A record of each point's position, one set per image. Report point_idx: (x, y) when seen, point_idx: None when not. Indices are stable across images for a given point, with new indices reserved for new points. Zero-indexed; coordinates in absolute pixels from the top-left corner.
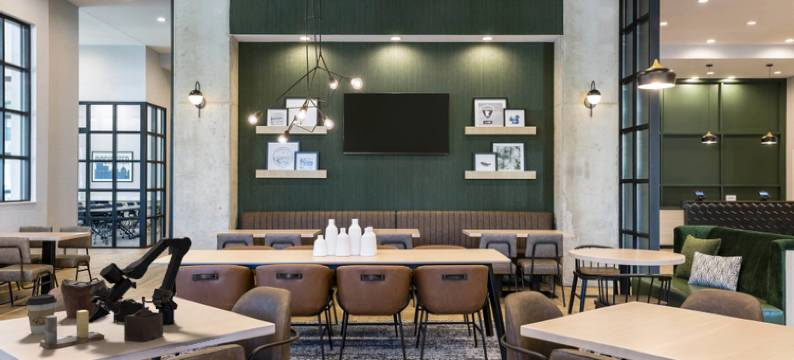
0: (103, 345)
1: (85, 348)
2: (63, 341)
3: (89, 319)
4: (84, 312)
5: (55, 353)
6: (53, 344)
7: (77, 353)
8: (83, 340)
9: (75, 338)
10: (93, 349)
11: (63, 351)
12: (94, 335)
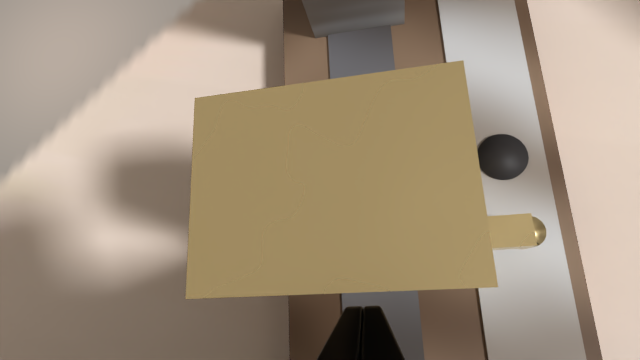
0: (96, 331)
1: (124, 203)
2: None
3: (348, 332)
4: (199, 198)
5: (161, 33)
6: (289, 14)
7: (52, 135)
8: None
9: None
10: (54, 238)
11: (168, 76)
12: None
